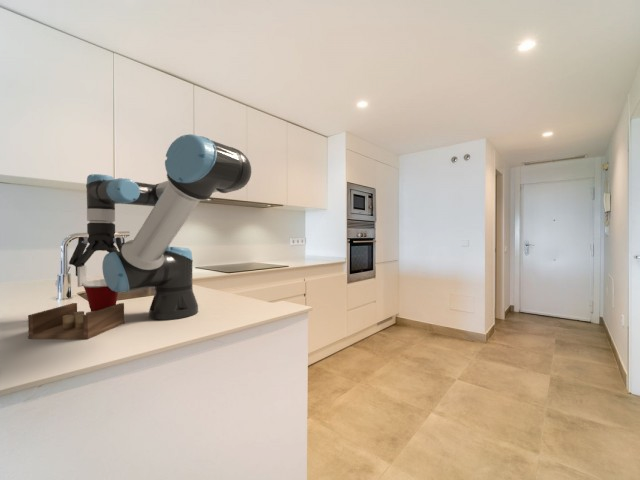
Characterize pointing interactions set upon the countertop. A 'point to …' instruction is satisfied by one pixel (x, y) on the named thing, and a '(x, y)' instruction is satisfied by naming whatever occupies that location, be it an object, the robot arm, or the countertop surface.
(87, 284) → the plastic cup
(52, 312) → the peg board
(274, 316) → the countertop surface
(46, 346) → the countertop surface
